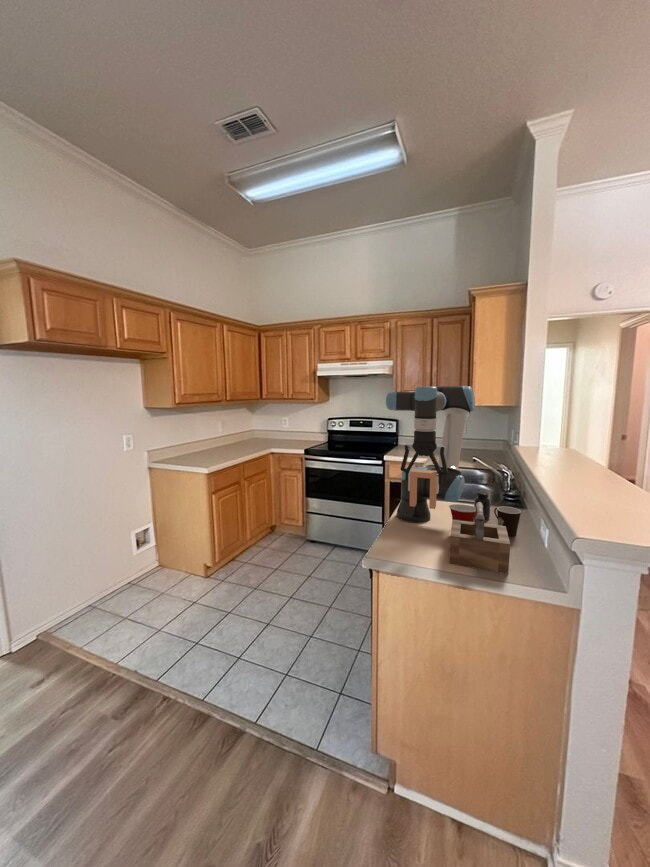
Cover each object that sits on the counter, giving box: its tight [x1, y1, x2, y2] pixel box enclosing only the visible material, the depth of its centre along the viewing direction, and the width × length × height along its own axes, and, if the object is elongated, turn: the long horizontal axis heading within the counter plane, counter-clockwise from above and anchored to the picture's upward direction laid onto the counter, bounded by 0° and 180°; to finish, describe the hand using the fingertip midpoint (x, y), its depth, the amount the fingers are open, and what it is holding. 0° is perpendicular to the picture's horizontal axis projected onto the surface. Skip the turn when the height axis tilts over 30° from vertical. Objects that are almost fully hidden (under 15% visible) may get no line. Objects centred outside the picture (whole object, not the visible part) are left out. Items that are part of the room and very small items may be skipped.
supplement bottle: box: [473, 490, 491, 521], centre depth 162 cm, size 7×7×12 cm
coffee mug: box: [493, 506, 522, 538], centre depth 146 cm, size 12×9×10 cm
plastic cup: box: [448, 503, 476, 522], centre depth 143 cm, size 11×11×12 cm
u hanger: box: [410, 469, 437, 510], centre depth 129 cm, size 4×9×13 cm, turn 68°
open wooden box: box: [448, 502, 511, 574], centre depth 123 cm, size 16×18×18 cm
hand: (423, 491), depth 129 cm, fingers closed on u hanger, 9 cm apart
